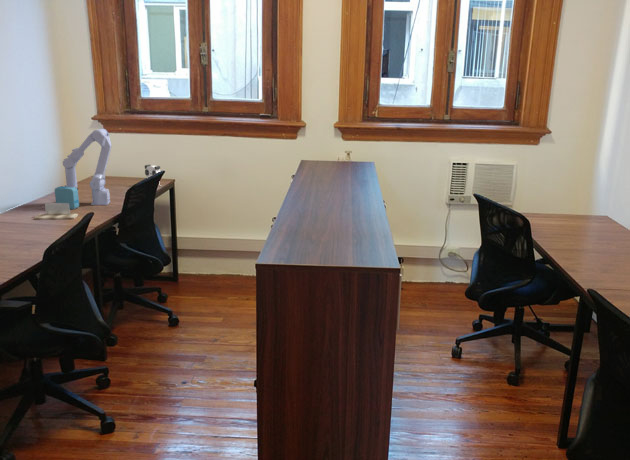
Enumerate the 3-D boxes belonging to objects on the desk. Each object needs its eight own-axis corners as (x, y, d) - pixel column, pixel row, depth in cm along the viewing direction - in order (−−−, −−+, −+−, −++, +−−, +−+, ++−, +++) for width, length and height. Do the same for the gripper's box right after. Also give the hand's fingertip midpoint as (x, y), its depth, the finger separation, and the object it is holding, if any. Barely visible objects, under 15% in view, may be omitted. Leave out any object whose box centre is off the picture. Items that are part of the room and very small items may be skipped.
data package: (79, 207, 320) (77, 187, 317) (74, 209, 316) (72, 189, 312) (61, 206, 323) (59, 186, 319) (56, 208, 318) (54, 187, 315)
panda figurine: (141, 187, 375) (139, 165, 371) (154, 184, 384) (153, 163, 380) (153, 190, 369) (152, 167, 365) (166, 187, 378) (165, 165, 374)
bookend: (78, 215, 304) (76, 202, 302) (73, 219, 297) (72, 206, 295) (39, 215, 302) (37, 203, 300) (34, 219, 294) (32, 206, 292)
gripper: (67, 175, 332) (70, 198, 336) (60, 180, 319) (62, 203, 322) (80, 175, 333) (82, 198, 337) (73, 180, 319) (75, 203, 323)
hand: (73, 200), depth 330 cm, fingers closed
